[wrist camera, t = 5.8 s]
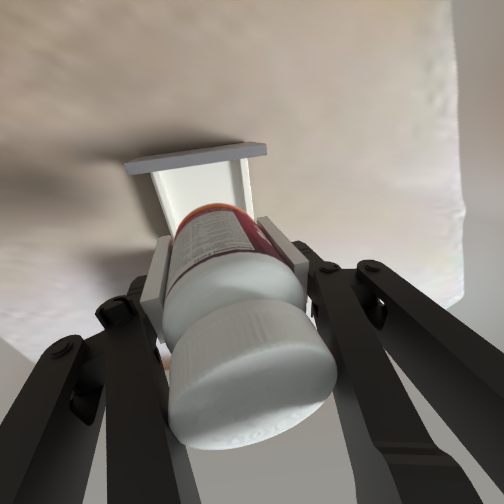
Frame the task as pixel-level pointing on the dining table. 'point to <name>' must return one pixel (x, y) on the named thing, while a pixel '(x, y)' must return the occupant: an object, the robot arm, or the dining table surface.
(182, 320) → the pill bottle
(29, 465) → the robot arm
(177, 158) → the tray
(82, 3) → the dining table surface
